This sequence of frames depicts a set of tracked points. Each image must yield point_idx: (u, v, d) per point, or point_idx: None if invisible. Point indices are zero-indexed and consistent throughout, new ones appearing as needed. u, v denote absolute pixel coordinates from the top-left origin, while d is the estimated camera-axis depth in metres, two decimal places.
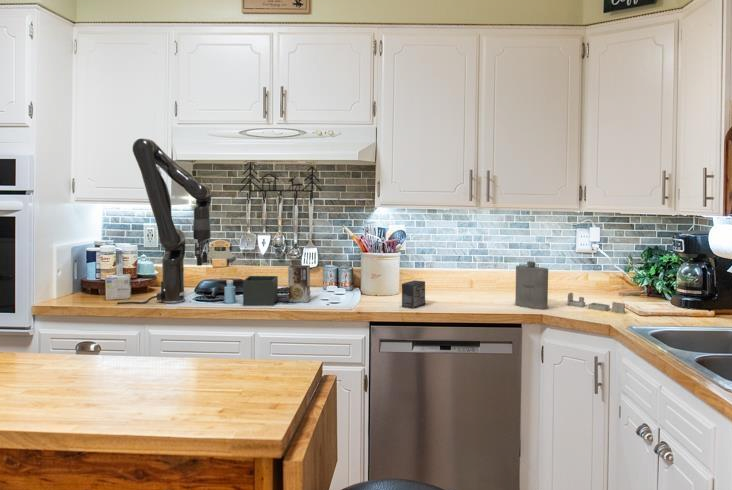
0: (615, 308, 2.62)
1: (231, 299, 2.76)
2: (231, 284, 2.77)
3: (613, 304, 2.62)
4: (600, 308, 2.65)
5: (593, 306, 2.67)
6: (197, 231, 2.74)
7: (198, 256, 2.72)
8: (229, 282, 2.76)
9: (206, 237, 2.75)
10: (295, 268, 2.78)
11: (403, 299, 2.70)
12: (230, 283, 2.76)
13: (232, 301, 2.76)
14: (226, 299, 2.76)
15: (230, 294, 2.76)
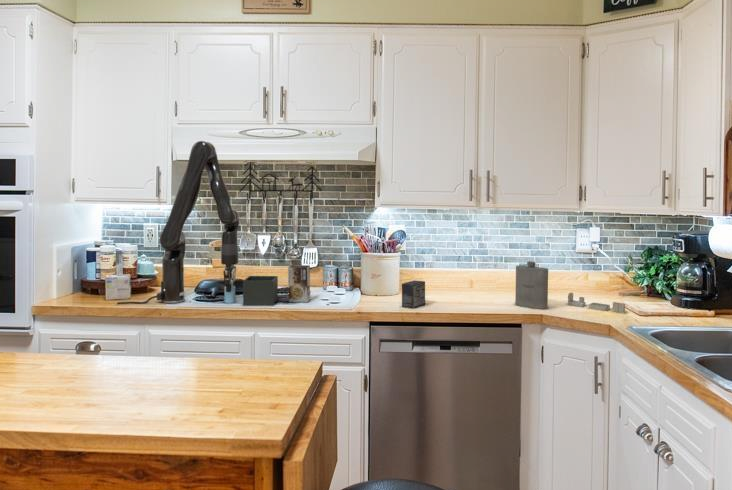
0: (615, 308, 2.62)
1: (231, 299, 2.76)
2: (231, 284, 2.77)
3: (613, 304, 2.62)
4: (600, 308, 2.66)
5: (593, 306, 2.68)
6: (225, 256, 2.73)
7: (227, 283, 2.73)
8: None
9: (234, 262, 2.74)
10: (295, 268, 2.78)
11: (403, 299, 2.70)
12: None
13: (232, 301, 2.76)
14: (226, 299, 2.76)
15: (230, 293, 2.76)
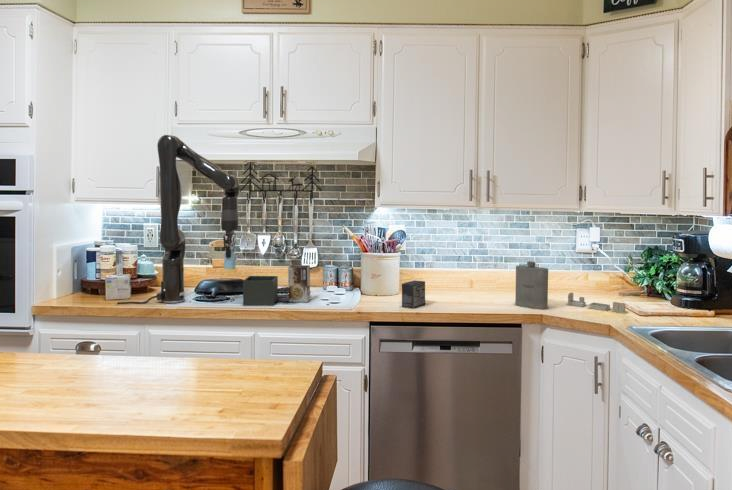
0: (616, 308, 2.62)
1: (231, 265, 2.75)
2: None
3: (614, 304, 2.62)
4: (601, 308, 2.66)
5: (593, 306, 2.68)
6: (225, 222, 2.73)
7: (227, 248, 2.72)
8: None
9: (234, 228, 2.74)
10: (295, 268, 2.78)
11: (403, 299, 2.70)
12: None
13: (232, 267, 2.75)
14: (226, 265, 2.75)
15: (230, 259, 2.75)
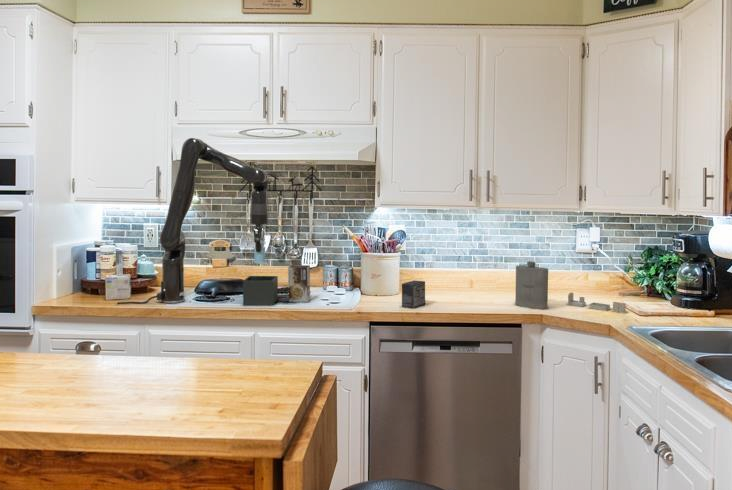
0: (616, 308, 2.62)
1: (261, 260, 2.75)
2: None
3: (614, 304, 2.63)
4: (601, 308, 2.66)
5: (594, 306, 2.68)
6: (255, 216, 2.73)
7: (257, 242, 2.72)
8: None
9: (263, 222, 2.74)
10: (295, 268, 2.78)
11: (403, 299, 2.70)
12: (260, 243, 2.76)
13: (262, 261, 2.75)
14: (256, 259, 2.75)
15: (260, 253, 2.75)
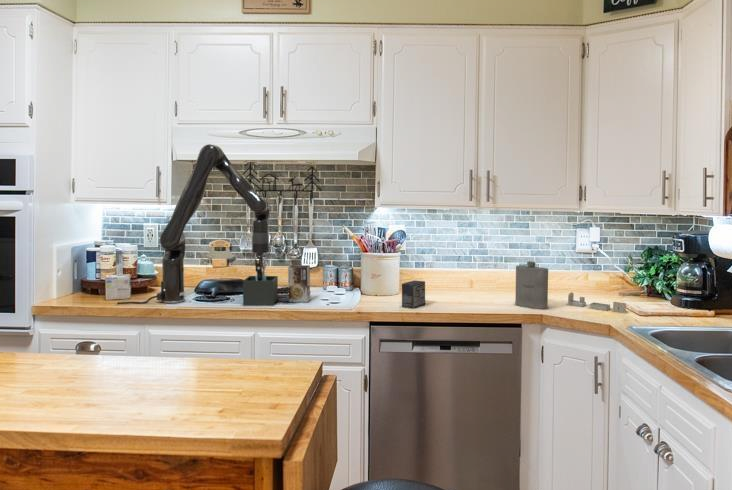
0: (616, 308, 2.62)
1: None
2: (262, 273, 2.76)
3: (614, 304, 2.63)
4: (601, 308, 2.66)
5: (594, 306, 2.68)
6: (256, 245, 2.73)
7: (259, 271, 2.73)
8: None
9: (265, 251, 2.74)
10: (295, 268, 2.78)
11: (403, 299, 2.70)
12: None
13: None
14: None
15: None
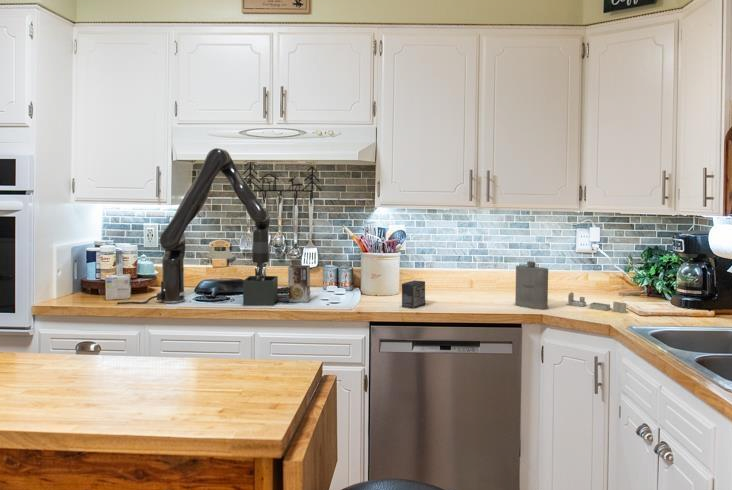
0: (616, 308, 2.62)
1: None
2: None
3: (614, 304, 2.63)
4: (601, 308, 2.66)
5: (594, 306, 2.68)
6: (257, 254, 2.73)
7: (258, 280, 2.72)
8: None
9: (265, 260, 2.74)
10: (295, 268, 2.78)
11: (403, 299, 2.70)
12: None
13: None
14: None
15: None
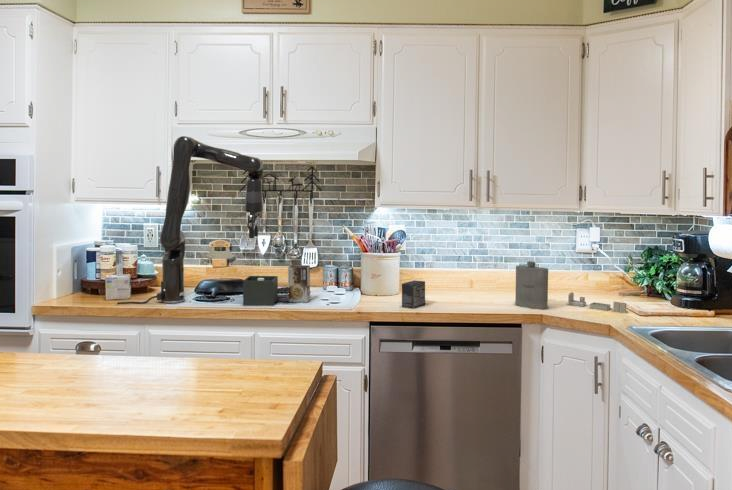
0: (616, 308, 2.62)
1: None
2: None
3: (614, 304, 2.63)
4: (601, 308, 2.66)
5: (594, 306, 2.68)
6: (250, 204, 2.74)
7: (251, 228, 2.72)
8: (260, 280, 2.76)
9: (258, 210, 2.75)
10: (295, 268, 2.78)
11: (403, 299, 2.70)
12: None
13: None
14: None
15: None
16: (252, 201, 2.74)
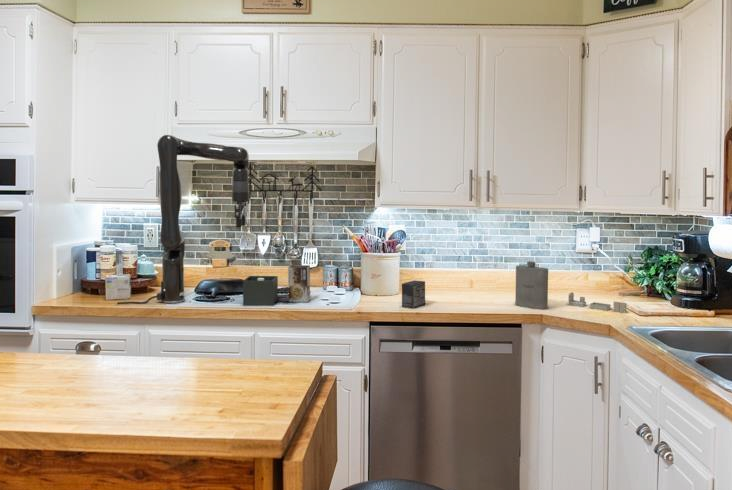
0: (616, 308, 2.63)
1: None
2: None
3: (614, 304, 2.63)
4: (601, 308, 2.66)
5: (594, 306, 2.68)
6: (236, 193, 2.77)
7: (237, 218, 2.75)
8: (260, 280, 2.76)
9: (244, 199, 2.78)
10: (295, 268, 2.78)
11: (403, 299, 2.70)
12: None
13: None
14: None
15: None
16: (239, 191, 2.77)
